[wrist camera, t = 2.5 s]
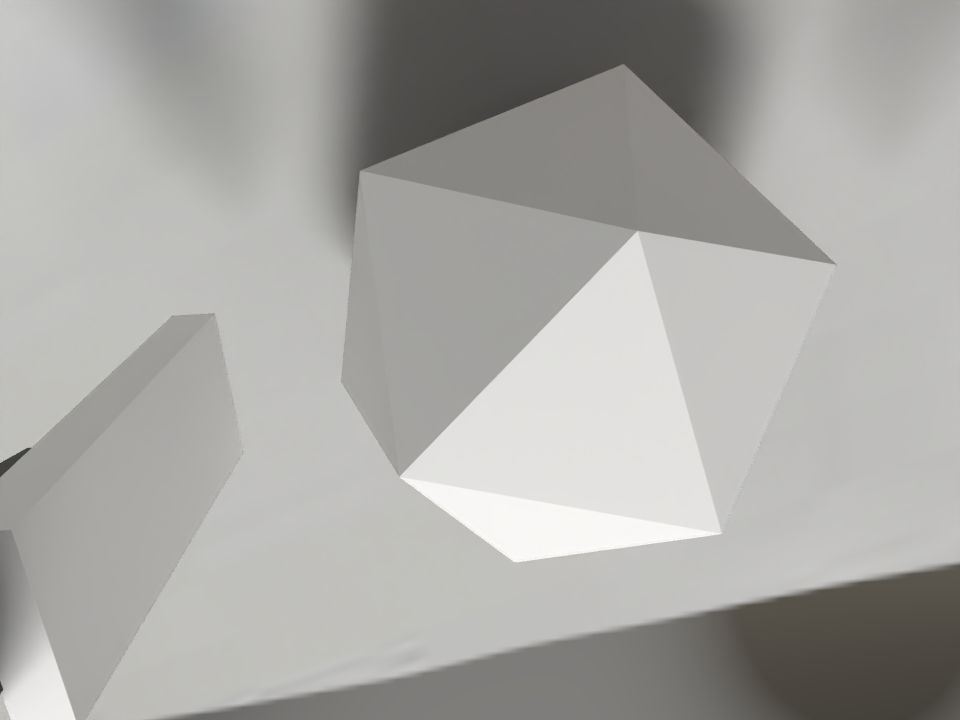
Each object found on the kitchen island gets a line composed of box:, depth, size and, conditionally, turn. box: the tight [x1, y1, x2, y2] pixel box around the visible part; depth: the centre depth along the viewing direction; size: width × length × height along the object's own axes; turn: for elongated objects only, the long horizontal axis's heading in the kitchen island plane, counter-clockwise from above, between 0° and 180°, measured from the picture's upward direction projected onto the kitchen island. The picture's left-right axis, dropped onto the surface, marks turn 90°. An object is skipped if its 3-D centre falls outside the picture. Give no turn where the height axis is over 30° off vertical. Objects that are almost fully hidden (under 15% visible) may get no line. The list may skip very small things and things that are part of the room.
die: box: [341, 64, 837, 562], centre depth 16 cm, size 8×9×10 cm
